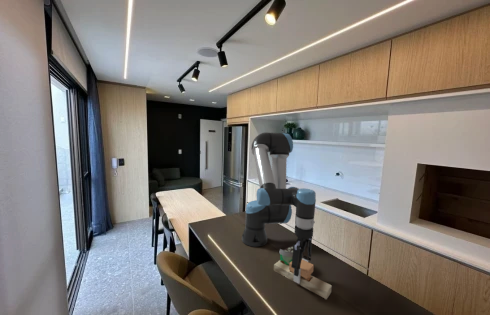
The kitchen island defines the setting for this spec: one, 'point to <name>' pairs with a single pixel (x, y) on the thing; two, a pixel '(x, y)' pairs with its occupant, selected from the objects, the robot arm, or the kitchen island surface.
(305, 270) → the tan toy stool
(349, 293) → the kitchen island surface
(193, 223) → the kitchen island surface
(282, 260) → the grey green half-round piece
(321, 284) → the rail
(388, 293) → the kitchen island surface
